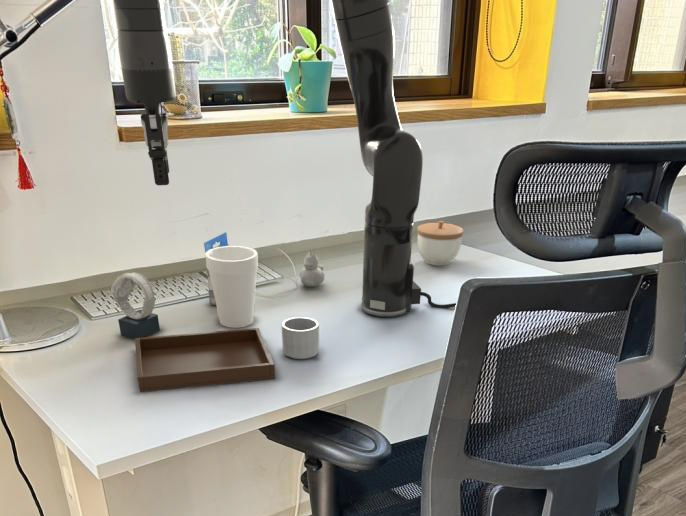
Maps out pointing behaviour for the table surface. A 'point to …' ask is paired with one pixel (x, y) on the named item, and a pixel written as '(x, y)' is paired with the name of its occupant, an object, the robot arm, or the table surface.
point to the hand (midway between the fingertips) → (162, 178)
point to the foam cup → (233, 283)
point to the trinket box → (439, 242)
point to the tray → (202, 359)
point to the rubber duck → (312, 271)
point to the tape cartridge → (208, 246)
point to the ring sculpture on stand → (135, 321)
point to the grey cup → (300, 337)
